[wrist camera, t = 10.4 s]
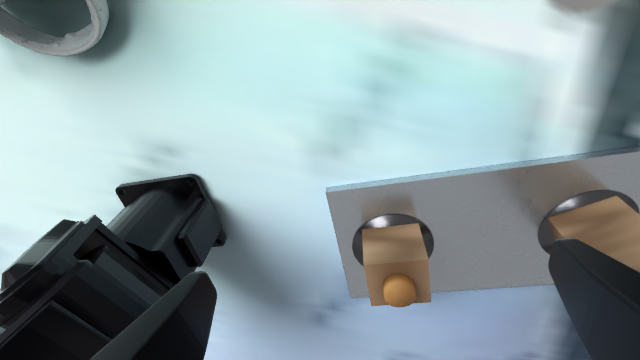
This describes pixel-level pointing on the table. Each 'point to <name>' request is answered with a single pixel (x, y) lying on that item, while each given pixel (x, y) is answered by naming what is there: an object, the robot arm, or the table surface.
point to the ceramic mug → (53, 44)
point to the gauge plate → (482, 216)
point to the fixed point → (396, 265)
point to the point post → (603, 229)
